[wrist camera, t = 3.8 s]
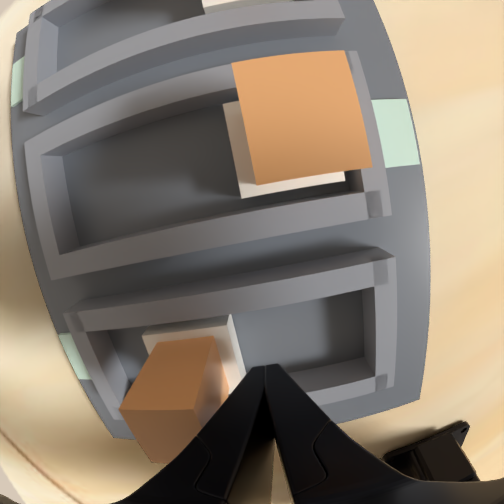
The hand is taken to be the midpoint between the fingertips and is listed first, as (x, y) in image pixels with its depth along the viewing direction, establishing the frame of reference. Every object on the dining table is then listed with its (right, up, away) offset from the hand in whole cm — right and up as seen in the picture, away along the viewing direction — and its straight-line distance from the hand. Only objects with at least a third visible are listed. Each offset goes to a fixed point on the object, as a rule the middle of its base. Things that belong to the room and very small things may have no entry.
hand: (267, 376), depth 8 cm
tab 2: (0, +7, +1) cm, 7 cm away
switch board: (-2, +6, +2) cm, 7 cm away
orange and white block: (-2, 0, +2) cm, 3 cm away
